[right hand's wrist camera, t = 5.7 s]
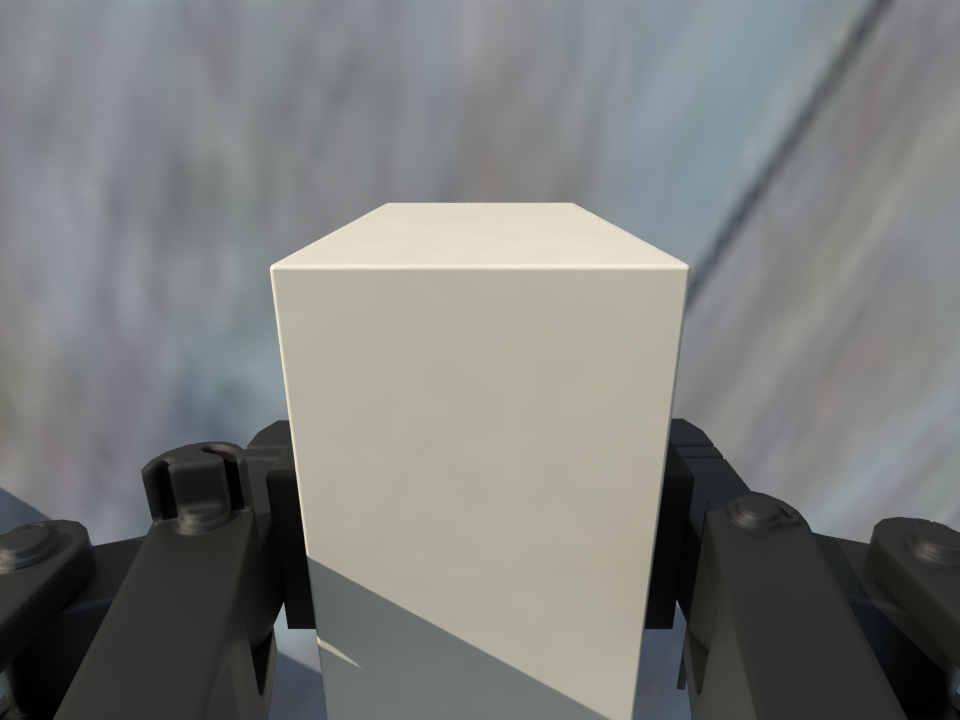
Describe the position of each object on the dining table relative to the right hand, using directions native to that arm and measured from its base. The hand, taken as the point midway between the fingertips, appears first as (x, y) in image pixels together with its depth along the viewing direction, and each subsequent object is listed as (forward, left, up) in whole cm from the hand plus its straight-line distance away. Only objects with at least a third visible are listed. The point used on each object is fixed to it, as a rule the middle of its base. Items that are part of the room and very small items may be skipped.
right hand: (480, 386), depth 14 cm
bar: (0, +11, -1) cm, 11 cm away
